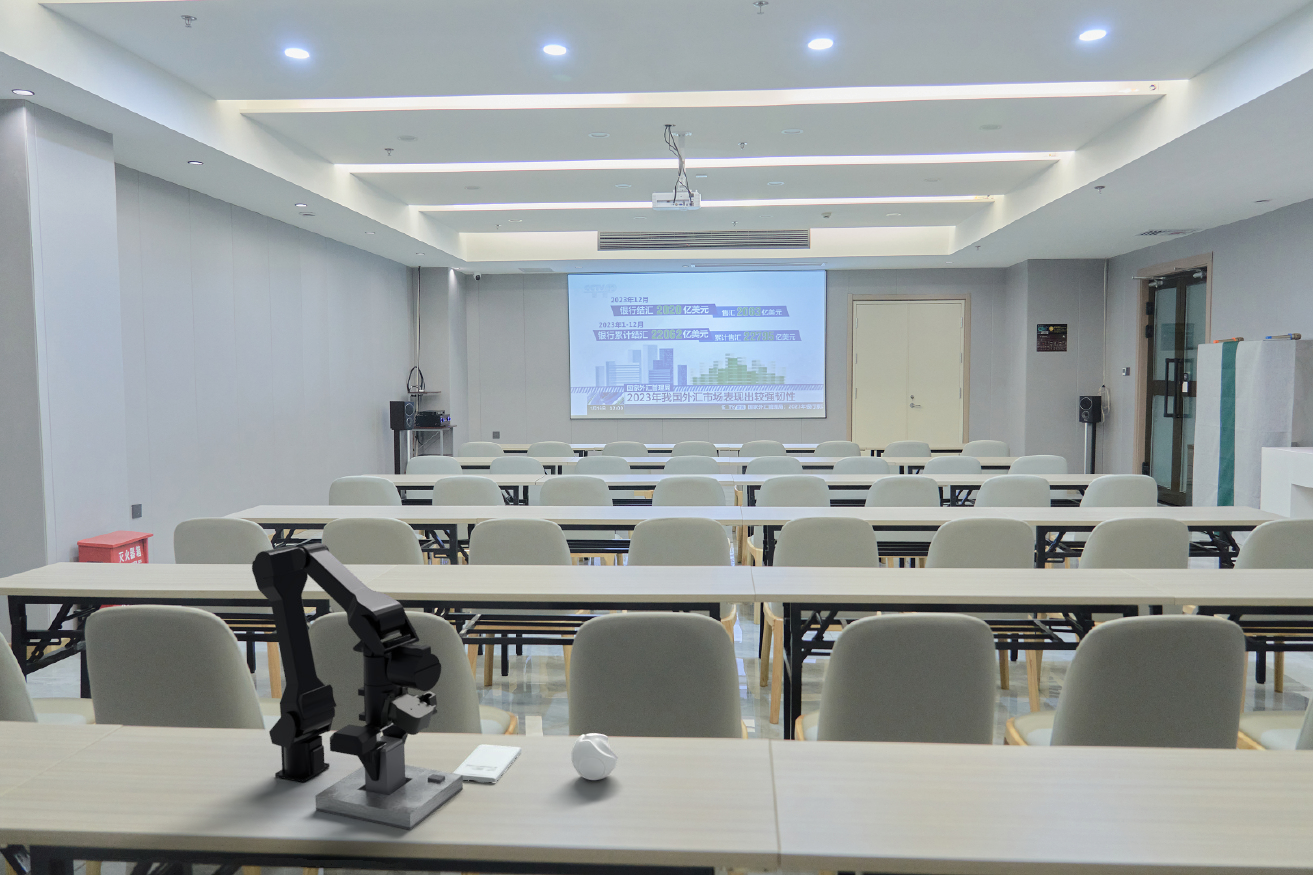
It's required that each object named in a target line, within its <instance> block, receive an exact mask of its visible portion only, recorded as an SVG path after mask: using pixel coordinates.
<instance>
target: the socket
mask: <svg viewBox="0 0 1313 875" xmlns="http://www.w3.org/2000/svg"><path fill="white" fill-rule="evenodd" d="M463 782H464V781H463V778H462V775H460V774H455V773H453V772H448V771H443V770H437V769H432V768H431V769H430V768H425V767H420V766H414V765H408V764H405V783H406V784H405V785H403V786H402V787H400V788H399V789H397V790H396V791H394V792H393V793H391V794H390V795H389V796H388V795H383V794H378V793H373V792H368V791H366V787H365V768H364V766H363V765H362V766H360V767H359V768H357V769H356V770H354V771H352V772H351V773H350V774H347V775H346V776H344V777H343V778H341V779H340V780H338V781H337V782H335V783H333V784H331V785H329V787H327V788H325V789H324V790H322V791H320V792H319V793H317V794H315V797H314V798H315V810H316V812H317V811H318V812H323V813H328V814H331V815H332V814H333V815H337V816H342V817H347V818H350V819H351V818H352V819H356V820H361V821H365V822H370V823H376V824H379V825H386V826H390V827H394V828H399V829H404V830H409V831H412V829H414V828H415V827H416V826H417V825H419V824H420V823H421V822H422V821H424V820H425V819H426V818H428V817H429V816H430V815H431V814H433V813H434V812H435V811H437V810H438V809H440V807H441V806H443V805H445V803H447V802H448V801H450V799H451V798H453V797H454V796H456V795H457V794H458V793H460V792H461V791H462V790H463V789H464V785H463V784H464V783H463Z"/></svg>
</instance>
